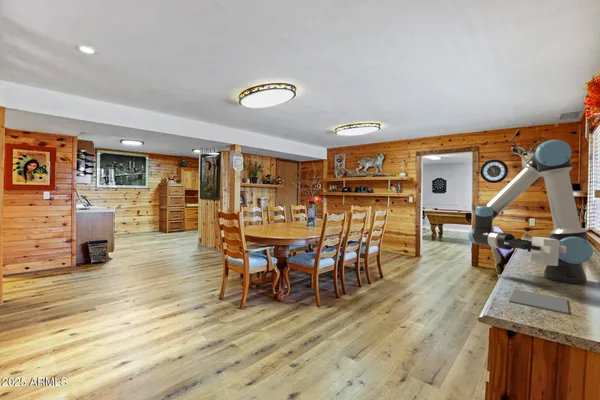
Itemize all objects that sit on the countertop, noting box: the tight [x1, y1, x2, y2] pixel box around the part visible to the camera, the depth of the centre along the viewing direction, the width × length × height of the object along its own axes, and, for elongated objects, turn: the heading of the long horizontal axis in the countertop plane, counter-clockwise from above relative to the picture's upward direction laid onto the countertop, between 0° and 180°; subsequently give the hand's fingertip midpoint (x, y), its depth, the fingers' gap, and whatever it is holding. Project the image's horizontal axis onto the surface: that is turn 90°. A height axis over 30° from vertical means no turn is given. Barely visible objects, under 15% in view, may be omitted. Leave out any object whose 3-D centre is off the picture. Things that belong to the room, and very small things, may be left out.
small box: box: [530, 236, 559, 266], centre depth 121 cm, size 8×6×10 cm
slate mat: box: [508, 288, 570, 315], centre depth 108 cm, size 18×16×1 cm
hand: (558, 249), depth 116 cm, fingers closed on small box, 9 cm apart
